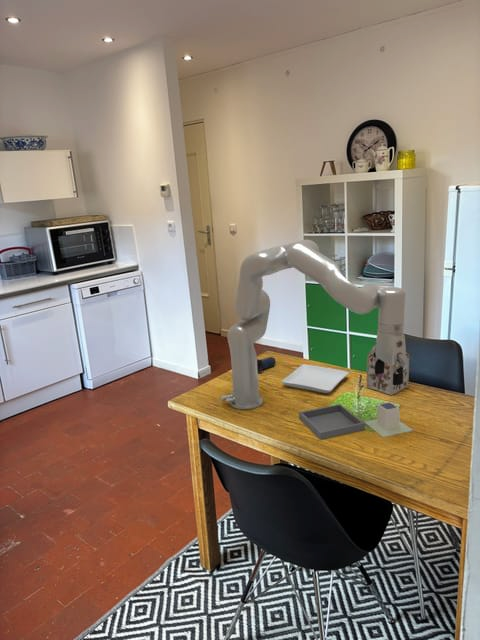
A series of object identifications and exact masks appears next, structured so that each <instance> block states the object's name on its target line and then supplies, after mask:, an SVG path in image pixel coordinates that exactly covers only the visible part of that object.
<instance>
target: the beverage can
mask: <svg viewBox="0 0 480 640" xmlns="http://www.w3.org/2000/svg"><path fill="white" fill-rule="evenodd" d="M276 362H277V361H276V358H275V357H273V356H268V357H265V358H261V359H258V358H257V370H258V374H260V375H262V371H263V370H265V369H268V368H271V367H274V366H275V365H276V364H277V363H276Z"/></svg>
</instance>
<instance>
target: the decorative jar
mask: <svg viewBox="0 0 480 640" xmlns="http://www.w3.org/2000/svg"><path fill="white" fill-rule="evenodd" d="M373 353H374V352H373V349H372V348H371V350H370V351H369V353H368V354H367V357H366V388H367V389H368V390H369V389H370V390H372V391H376V392H378V393H381V394H385V395H388V396H394V395H396V394H398V393H399V392H402V391H403V390H404V389H407V388H408V387H409V377H410V375H409V374H410V354H408V352H407V351H406V361H407V362H408V366H407V368H406V370H405V372H404V373H403V383H402V384H400V385H395V386H394V385H393V373H395V372H394V369H393V367H392V366H391V365H389V364H387V363H385V364H384V373H382V374H375V363H376V362H375V361H374V359H375V358H374V355H373ZM395 363H398V362H395ZM396 367H397V369H398V368H399V366H396Z"/></svg>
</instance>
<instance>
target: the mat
mask: <svg viewBox="0 0 480 640" xmlns="http://www.w3.org/2000/svg"><path fill="white" fill-rule="evenodd" d="M363 422H364V423H365V425H367V426H368V427H369V428H371V429H372V430H373V431H374V432H375V433H377V434H378V435H379V436H380V437H382V438H388V437H392V436H396V435H400V434H404V433H414V430H413V429H412V428H411V427H409V426H408V425H406V424H405V423H403V422H402V421H400V420H399V428H396V429H391V430H387V431H385V430H384V429H383V428H381V427H380V426H379V425H377V418H376V419H372V420H371V419H370V420H367V421H363Z"/></svg>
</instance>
